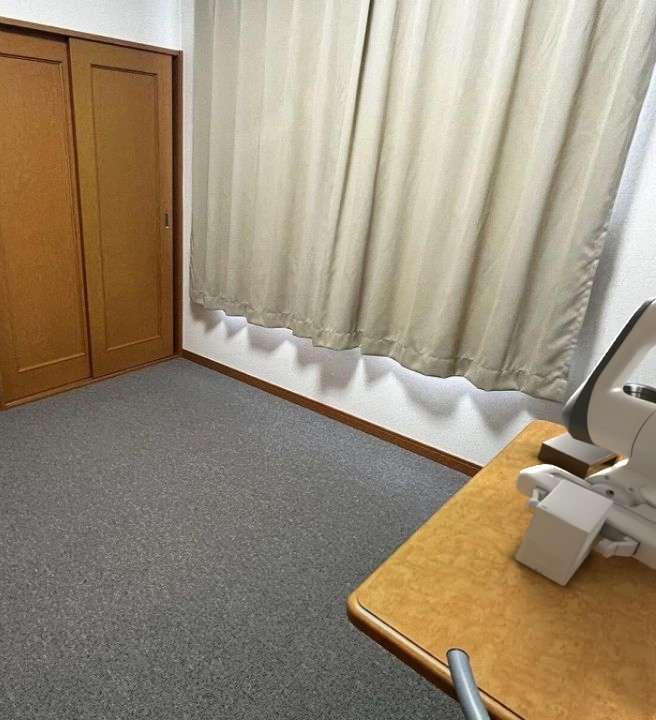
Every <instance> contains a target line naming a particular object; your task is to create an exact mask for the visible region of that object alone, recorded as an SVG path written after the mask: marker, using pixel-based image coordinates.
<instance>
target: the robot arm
mask: <svg viewBox="0 0 656 720" xmlns="http://www.w3.org/2000/svg"><path fill="white" fill-rule="evenodd" d="M654 347H656V296H652V297H649V298H647V299H646V300H644V301H643V302H642V303H641V304H640V305H639V306H638V307H637V308H636V309H635V310H634V312H633V313H632V314H631V315H630V317H629V318H628V320H627V321H626V322H625V323H624V325H623V326H622V327H621V328H620V330H619V332H618V333H617V334H616V335H615V337H614V339H613V340H612V341H611V343H610V344H609V346H608V347H607V348H606V350H605V352H604V353H603V355H602V356H601V357H600V359H599V360H598V362H597V363H596V365H595V366H594V367H593V369H592V370H591V372H590V373H589V375H588V376H587V377H586V379H585V380H584V381H583V382H582V384H581V385H580V386H579V387H578V388H577V389H576V391H574V393H573V394H572V395H571V396H570V397H569V399H568V400H567V402H566V403H565V405H564V407H563V408H562V411H561V414H560V415H561V416H560V418H561V421H562V424H563V426H564V428H565V430H566V431H567V432H569V434H570V435H571V437H572V438H574V439H576V440H579V441H582V442H585V443H588V444H591V445H594V446H597V447H602V448H604V449H607V450H609V451H612V452H614V453H616V454H619V455H621V456H622V457H624V458H625V459H623V460H620V461H618V463H617V464H615V465H614V466H613V465H612V466H610V467H607V468H604V469H602V470H599V471H598V472H596V473H594V474H591V475H589V476H588V477H587V478H586V479H584V480H583V479H581V478H579V477H577V476H575V475H573V474H571V473H569V472H567V471H565V470H563V469H561V468H558V467H556V466H553V465H551V464H541V465H535V466H531V467H528V468H524V469H522V470H520V471H519V473H518V475H517V478H516V480H515V489H516V491H518V492H519V493H520V494H523V495H524V496H526V497H528V498H529V499H527V500H526V502H525V504H524V507H523V508H524V510H526V511H527V512H529V513H531V514H532V515H533V513H534V511H535V508H536V506H537V505H538V504H540V503H541V502H542V501H543V500H544V499H545V498H546V497H547V496H548V495H549V494H550V493H551V492H552V491H553V490H554V489H555V488H556V487H557V486H558V485H559V484H560V482H561V481H562V480H567V481H569V482H571V483H573V484H576V485H578V486H580V487H582V488H585V489H587V490H589V491H591V492H594V493H596V494H598V495H601V496H603V497H605V498H607V499H610V500H612V501H613V504H612V506H611V508H610V511H609V513H608V515H607V517H606V520H605V522H604V524H603V526H602V528H601V530H600V532H599V534H598V536H597V538H599V539H601V540H599V541H598V542H597V544H596V546H595V548H594V552H596V553H598V554H599V555H601V556H602V557H603V558H605V559H608V558H610V557H612V556H618V557H625V558H629V557H631V558H634V559H636V560H637V561H639V562H641V563H642V564H644V565H645V566H648V567H649V568H651V569H652V570H655V571H656V403H655V402H651V401H649V400H646V399H643V398H639V397H635V396H632V395H630V394H628V393H626V392H625V391H624V386H625V385H626V384H627V382H628V381H629V379H630V378H631V377H632V375H633V374H634V373H635V371H636V370H637V369H638V368H639V366H640V365H641V363H642V362H643V361H644V359H645V358H646V356H647V355H648V354H649V352H650V351H651V350H652V349H653V348H654ZM621 456H620V457H621Z"/></svg>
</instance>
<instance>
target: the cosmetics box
mask: <svg viewBox="0 0 656 720" xmlns="http://www.w3.org/2000/svg"><path fill="white" fill-rule="evenodd" d="M612 504H613V501H612V500H610V499H607V498H605V497H603V496H601V495H598V494H596V493H594V492H591V491H589V490H587V489H585V488H582V487H580V486H578V485H576V484H573V483H571V482H569V481H567V480H562V481H561V482H560V484H559V485H558V486H557V487H556V488H555V489H554V490H553V491H552V492H551V493H550V494H549V495H548V496H547V497H546V498H545V499H544V500H543V501H542V502H541V503H540V504H538V505H537V506H536V508H535V511H534V513H533V514H532V516H531V518H530V521H529V524H528V527H527V529H526V531H525V535H524V537H523V539H522V542H521V543H520V545H519V548H518V551H517V552H516V555H515V558H514V559H515V560H516V561H517V562H519V563H521V564H523V565H525V566H527V567H528V568H530V569H532V570H534V571H535V572H537V573H538V574H541V575H542V576H544V577H546V578H547V579H549V580H551V581H553V582H555V583H557V584H558V585H560V586H562V587H563V586H565V585H567V583H568V582H569V580H570V579H571V578H572V577H573V576H574V574H575V573H576V571H577V570H578V569H579V567H581V565H582V564H583V562H584V561H585V560H586V559H587V557H588V556H589V554H590V553H591V550H592V549H593V547H594V544H595V543H596V540H597V538H598V537H597V536H598V534H599V532H600V530H601V528H602V526H603V524H604V522H605V520H606V517H607V515H608V513H609V511H610V508H611V506H612Z"/></svg>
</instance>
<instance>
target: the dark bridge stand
mask: <svg viewBox="0 0 656 720" xmlns="http://www.w3.org/2000/svg"><path fill="white" fill-rule="evenodd" d="M537 458H538V459H540V460H541V461H543V462H546V463H547V464H548V465H553V466H556V467H558V468H561V469H563V470H565V471H567V472H569V473H571V474H573V475H575V476H577V477H579V478H581V479H583V480H584V479H586V478H587V477H589V476H590V473H591V471H592V469H593V468H595V467H597V466H599V465H602V464H604V463H606V464H609V465H610V466H612V467H613V466H614V465H615V464H617V463H618V462H619V460H620V459H621V455H619V454H616V453H614V452H612V451H609V450H607V449H604V448H602V447H597V446H594V445H591V444H588V443H585V442H582V441H579V440H576V439H574V438H572V437H571V435H570V434H569V432H568V431H567V432H565V433H562V434H560V435H557V436H555V437H553V438H550V439H548V440H545V441H543V442H541V445H540V448H539V452H538V455H537Z"/></svg>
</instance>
